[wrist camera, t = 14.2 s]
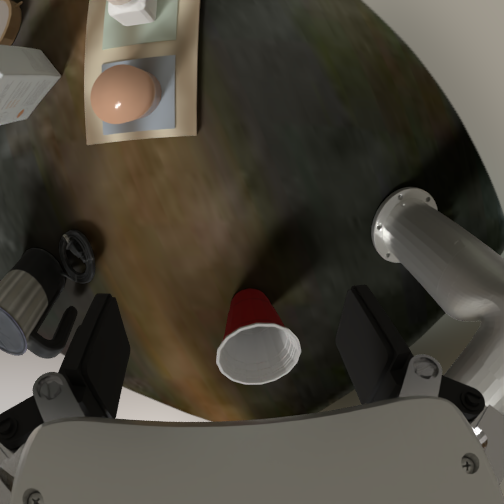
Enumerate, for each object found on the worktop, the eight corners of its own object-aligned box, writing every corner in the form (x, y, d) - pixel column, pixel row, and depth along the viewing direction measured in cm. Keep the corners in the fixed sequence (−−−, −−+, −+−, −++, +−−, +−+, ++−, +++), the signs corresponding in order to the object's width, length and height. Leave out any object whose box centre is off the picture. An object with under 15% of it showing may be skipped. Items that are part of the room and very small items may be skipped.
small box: (41, 48, 25) (-18, 41, 14) (62, 76, 28) (4, 74, 16) (6, 92, 27) (-54, 102, 15) (26, 120, 29) (-34, 137, 18)
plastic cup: (295, 281, 46) (316, 336, 35) (269, 332, 50) (281, 388, 40) (227, 264, 43) (231, 320, 33) (206, 320, 48) (206, 378, 37)
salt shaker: (156, 23, 26) (136, 0, 17) (123, 28, 25) (94, 8, 17) (158, -5, 24) (140, -35, 15) (126, 0, 23) (99, -26, 15)
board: (202, -27, 24) (201, -31, 23) (197, 134, 34) (196, 135, 33) (94, -11, 22) (90, -14, 21) (90, 143, 33) (86, 145, 31)
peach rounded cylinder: (161, 67, 28) (148, 60, 22) (161, 116, 31) (148, 120, 25) (113, 74, 28) (90, 69, 22) (113, 121, 31) (91, 127, 25)
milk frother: (18, 280, 40) (-23, 336, 28) (30, 200, 35) (-29, 248, 22) (85, 314, 45) (57, 381, 32) (108, 240, 39) (69, 304, 26)
